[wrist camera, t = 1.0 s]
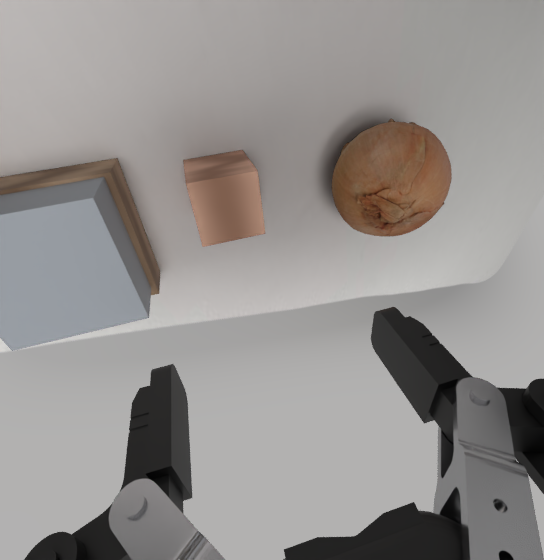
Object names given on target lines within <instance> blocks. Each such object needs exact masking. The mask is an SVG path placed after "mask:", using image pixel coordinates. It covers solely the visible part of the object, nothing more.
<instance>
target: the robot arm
mask: <svg viewBox="0 0 544 560" xmlns="http://www.w3.org/2000/svg"><path fill="white" fill-rule="evenodd" d="M371 341H372V345H373V348H374V350H375V352H376V354H377V355H378V356H379V358H380V359H381V361H382V362H383V364H384V365H385V367H386V368H387V369H388V371H389V372H390V374H391V375H392V377H393V378H394V380H395V381H396V383H397V384H398V386H399V387H400V389H401V390H402V391H403V393H404V395H405V396H406V397H407V399H408V400H409V402H410V403H411V405H412V406H413V408H414V409H415V411H416V412H417V414H418V415H419V416H420V418H421V419H422V421H423V422H424V423H427V422H430V421H433V420H435V421H436V423H437V424H438V425H439V428H438V481H437V488H436V493H435V499H434V513H431V512H425V511H418V509H417V508H416V505H415V503H414V502H413V503H410V504H408V505H405V506H402V507H399V508H397V509H394V510H391V511H389V512H386V513H383V514H382V515H381V516H380V517H379V518H377V519H376V520H375V521H374V522H373V523H371V524H370V525H369V526H368V527H366V528H365V529H364V530H363V531H362V532H361V533H359V534H358V535H356V536H354V537H317V538H315V539H312V540H309V541H306V542H304V543H301V544H298V545H296V546H293V547H290V548H287V549H284V552H285V557H286V558H285V559H283V560H544V558H543V553H542V548H541V542H540V537H539V531H538V526H537V521H536V516H535V510H534V505H533V499H532V494H531V489H530V484H529V478H528V474H529V476H530V477H531V479H532V480H533V481H534V482H535V484H536V485H537V486H538V487H539V489H540V490H541V491H542V493H543V494H544V379H536V380H534V381H532V382H531V383H530V384H529V386H528V387H527V389H519V388H516V389H515V388H496V387H495V386H494V385H492V384H491V383H489V382H488V381H485V380H483V379H480V378H474V377H472V376H471V375H470V374H469V373H468V372H467V371H466V370H465V369H464V368H463V367H462V366H461V364H460V363H459V362H458V361H457V360H456V359H455V358H454V357H453V356H452V355H451V354H450V353H449V351H448V350H446V348H445V347H444V346H443V345H442V344H440V343H439V341H438V340H437V339H436V338H435V336H432V333H431V332H430V331H429V330H428V329H427V328H426V327H425V326H424V325H423V324H422V323H420V322H419V321H417V320H415V319H414V318H412V317H410V316H409V317H406V318H405V317H404V316H403V315H402V314H401V313H400V311H399V310H398V309H396V308H395V307H391V308H388V309H384V310H380V311H376V312H375V314H374V319H373V327H372V334H371ZM129 430H130V433H129V437H128V446H127V455H126V464H125V465H126V466H125V474H124V481H123V485H122V488H121V490H120V492H119V493H118V495H117V496H116V498H115V499H114V502H113V503H112V504H111V506H110V507H109V508H108V509H107V510H106V511H105V512H103V513H102V514H101V515H100V516H98V517H97V518H95V519H94V520H92V521H91V522H89V523H88V524H86V525H85V526H83V527H82V528H80V529H79V530H78V531H76V532H75V533H73V534H72V535H71V534H69V533H66V532H57V533H54V534H51V535H49V536H47V537H46V538H44V539H43V540H42V541H40V542H39V543H38V544H37V545H36V546H35V547H34V548H33V549H32V550H31V551H30V553H29V554H28V555H27V557H26V558H25V560H225V559H224V558H223V557H222V555H221V554H220V553H219V552H218V551H217V550H216V549H215V548H214V546H213V545H212V544H211V543H210V542H209V541H208V540H207V539H206V538H205V537H204V536H203V535H202V534H201V533H200V532H199V531H198V530H197V529H196V528H195V527H194V525H193V524H192V523H191V522H190V521H189V520H188V519H187V518H186V517H185V515H184V514H183V501H184V500H187V499H190V498H192V485H191V463H190V443H189V424H188V403H187V396H186V392H185V389H184V386H183V384H182V382H181V379H180V377H179V375H178V373H177V370H176V368H175V366H174V365H173V364H171V365H168V366H164V367H160V368H156V369H153V370H152V371H151V381H150V386H147V387H143V388H140V389H139V391H138V392H137V394H136V397H135V398H134V400H133V402H132V409H131V421H130V428H129ZM515 458H516V459H517V461H518V462H519V463H518V462H517V461H516V459H515ZM527 473H528V474H527Z"/></svg>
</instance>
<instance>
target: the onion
mask: <svg viewBox="0 0 544 560" xmlns="http://www.w3.org/2000/svg"><path fill="white" fill-rule="evenodd" d="M450 183H451V165H450V161H449V158H448V155H447V152H446V150H445V149H444V147H443V145H442V143H441V142H440V140H439V139H438V138H437V137H436V136H435V135H434V134H433V133H432V132H431V131H429V130H428V129H426V128H424V127H421V126H419V125H416V124H415V123H413V122H410V123H405V122H395V121H394V120H393V119H390V120H389V121H388V122H387V123H382V124H379V125H376V126H374V127H371V128H369V129H366V130H365V131H363V132H361V133H360V134H359V135H358V136H357V137H356V138H354V139H353V140H352V141H351V142H349V143H347V144H345V145H344V146H343V149H342V150H341V155H340V157H339V159H338V161H337V164H336V166H335V169H334V173H333V177H332V193H333V198H334V202H335V205H336V207H337V209H338V211H339V213H340V215H341V216H342V218H343V219H344V220H345V221H346V222H347V223H348V224H349V225H350V226H351V227H352V228H353V229H355V230H357V231H360V232H362V233H365V234H370V235H374V236H398V235H402V234H405V233H408V232H411V231H413V230H415V229H417V228H419V227H421V226H422V225H423V224H425V223H426V222H427V221H429V220H430V219H431V218H432V217H433V216H434V215H435V214H436V212H437V211H438V210H439V209H440V208H441V207H442V205H443V204H444V201H445V199H446V196H447V194H448V191H449V187H450Z"/></svg>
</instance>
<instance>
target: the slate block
mask: <svg viewBox="0 0 544 560" xmlns="http://www.w3.org/2000/svg"><path fill="white" fill-rule="evenodd" d="M150 297H151V286H150V284H149V281H148V279H147V277H146V274H145V272H144V270H143V267H142V265H141V263H140V260H139V258H138V256H137V253H136V251H135V249H134V246H133V244H132V241H131V239H130V237H129V234H128V232H127V230H126V227H125V225H124V223H123V220H122V218H121V216H120V213H119V211H118V208H117V206H116V204H115V201H114V199H113V197H112V194H111V192H110V190H109V187H108V185H107V183H106V180H105V178H104V177H100V178H94V179H89V180H83V181H77V182H72V183H66V184H60V185H55V186H49V187H43V188H38V189H32V190H26V191H21V192H15V193H9V194H4V195H0V338H1V339H2V340H3V341H4V342H5V344H6V345H7V346H8V347H9V348H10V349H11V350H12V351H13V350H17V349H22V348H26V347H30V346H34V345H38V344H42V343H46V342H51V341H55V340H59V339H63V338H67V337H71V336H75V335H80V334H84V333H88V332H92V331H96V330H100V329H104V328H109V327H113V326H117V325H121V324H125V323H129V322H133V321H138V320H142V319H146V318H149V310H150Z"/></svg>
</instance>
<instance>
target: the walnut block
mask: <svg viewBox="0 0 544 560" xmlns="http://www.w3.org/2000/svg"><path fill="white" fill-rule="evenodd" d="M100 177H104V178H105V180H106V183H107V185H108V187H109V190H110V192H111V194H112V197H113V199H114V201H115V204H116V206H117V208H118V211H119V213H120V216H121V218H122V220H123V223H124V225H125V227H126V230H127V232H128V234H129V237H130V239H131V241H132V244H133V246H134V249H135V251H136V253H137V256H138V258H139V260H140V263H141V265H142V267H143V270H144V272H145V274H146V277H147V279H148V281H149V284H150V286H151V295H154V294H159V286H160V270H159V267H158V265H157V262H156V259H155V257H154V254H153V251H152V249H151V246H150V243H149V241H148V238H147V235H146V233H145V230H144V228H143V225H142V222H141V220H140V217H139V214H138V212H137V209H136V206H135V204H134V201H133V198H132V196H131V193H130V191H129V188H128V185H127V183H126V180H125V177H124V175H123V172H122V169H121V167H120V164H119V161H118V159H117V158H116V159H110V160H103V161H97V162H91V163H85V164H79V165H73V166H67V167H61V168H55V169H48V170H42V171H36V172H30V173H24V174H18V175H12V176H6V177H0V195H4V194H9V193H15V192H21V191H26V190H32V189H38V188H43V187H49V186H55V185H60V184H66V183H72V182H77V181H83V180H89V179H94V178H100Z"/></svg>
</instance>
